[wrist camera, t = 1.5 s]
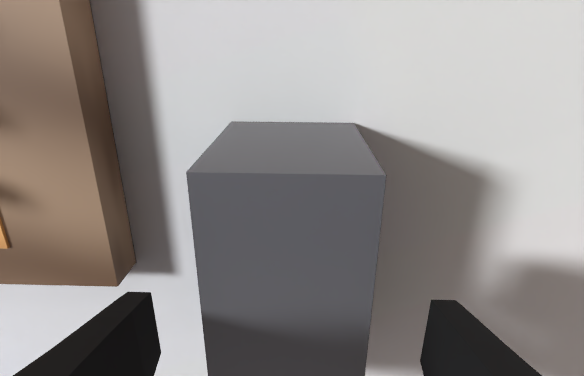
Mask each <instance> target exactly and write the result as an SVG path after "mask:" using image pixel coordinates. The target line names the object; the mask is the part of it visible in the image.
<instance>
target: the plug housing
mask: <svg viewBox="0 0 584 376" xmlns="http://www.w3.org/2000/svg"><path fill="white" fill-rule="evenodd" d="M186 174H187V183H188V192H189V202H190V211H191V220H192V230H193V239H194V248H195V258H196V267H197V276H198V286H199V295H200V304H201V314H202V323H203V332H204V342H205V351H206V360H207V370H208V376H365V368H366V359H367V349H368V340H369V331H370V322H371V312H372V303H373V294H374V285H375V275H376V266H377V257H378V247H379V238H380V229H381V220H382V210H383V201H384V192H385V183H386V174H385V172H384V171H383V169H382V168H381V166H380V164H379V163H378V161H377V159H376V158H375V156H374V155H373V153H372V151H371V150H370V148H369V147H368V145H367V143H366V142H365V140H364V139H363V137H362V135H361V134H360V132H359V131H358V129H357V127H356V126H355V124H354V123H302V122H231V123H230V124H229V125H228V126H227V127H226V128H225V129H224V131H223V132H222V133H221V134H220V135H219V136H218V137H217V138H216V140H215V141H214V142H213V143H212V144H211V145H210V146H209V147H208V148H207V150H206V151H205V152H204V153H203V154H202V155H201V156H200V157H199V159H198V160H197V161H196V162H195V163H194V164H193V165H192V166H191V168H190V169H189V170H188V171H187V172H186Z"/></svg>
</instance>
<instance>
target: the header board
mask: <svg viewBox="0 0 584 376" xmlns="http://www.w3.org/2000/svg"><path fill="white" fill-rule="evenodd" d="M135 263H136V259H135V253H134V248H133V242H132V236H131V231H130V225H129V220H128V214H127V208H126V203H125V197H124V192H123V186H122V180H121V175H120V169H119V163H118V158H117V152H116V147H115V141H114V135H113V130H112V124H111V119H110V113H109V107H108V102H107V96H106V91H105V85H104V79H103V74H102V68H101V63H100V57H99V51H98V46H97V40H96V34H95V29H94V23H93V18H92V12H91V6H90V1H89V0H0V284H30V285H75V286H119V284H120V283H121V282H122V280H123V279H124V278H125V276H126V275H127V274H128V272H129V271H130V270H131V268H132V267H133V266H134V265H135Z"/></svg>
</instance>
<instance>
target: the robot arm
mask: <svg viewBox="0 0 584 376" xmlns="http://www.w3.org/2000/svg"><path fill="white" fill-rule="evenodd" d="M160 354H161V349H160V344H159V338H158V332H157V326H156V320H155V314H154V308H153V302H152V296H151V293H150V292H127V293H126V294H124V295H123V296H121V297H120V298H118V299H117V300H116V301H114V302H113V303H112V304H110V305H109V306H108V307H106V308H105V309H104V310H102V311H101V312H100V313H98V314H97V315H96V316H95V317H93V318H92V319H91V320H89V321H88V322H87V323H85V324H84V325H83V326H81V327H80V328H79V329H77V330H76V331H75V332H73V333H72V334H71V335H69V336H68V337H67V338H65V339H64V340H63V341H61V342H60V343H59V344H57V345H56V346H55V347H53V348H52V349H51V350H49V351H48V352H46V353H45V354H43V355H42V356H41V357H39V358H38V359H36V360H35V361H33V362H32V363H31V364H29V365H28V366H26V367H25V368H23V369H22V370H20V371H19V372H18V373H16V374H15V375H13V376H154V373H155V370H156V367H157V364H158V361H159V358H160ZM420 362H421V366H422V370H423V374H424V376H542V375H540V374H539V373H538V372H537V371H536V370H534V369H533V368H532V367H531V366H530V365H529V364H527V363H526V362H525V361H524V360H523V359H522V358H520V357H519V356H518V355H517V354H516V353H515V352H513V351H512V350H511V349H510V348H509V347H508V346H507V345H505V344H504V343H503V342H502V341H501V340H500V339H499V338H498V337H496V336H495V335H494V334H493V333H492V332H491V331H490V330H489V329H488V328H486V327H485V326H484V325H483V324H482V323H481V322H480V321H479V320H478V319H476V318H475V317H474V316H473V315H472V314H471V313H470V312H469V311H467V310H466V309H465V308H464V307H463V306H462V305H461V304H459V303H458V302H457V301H456V300H431V304H430V310H429V315H428V321H427V326H426V332H425V337H424V343H423V348H422V354H421V359H420Z"/></svg>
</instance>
